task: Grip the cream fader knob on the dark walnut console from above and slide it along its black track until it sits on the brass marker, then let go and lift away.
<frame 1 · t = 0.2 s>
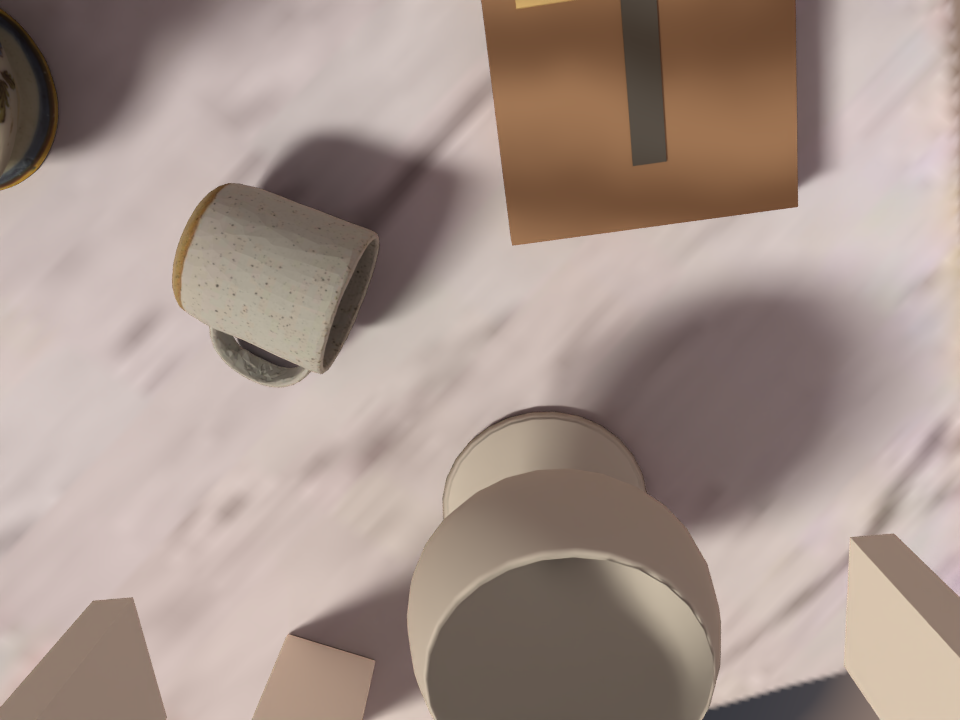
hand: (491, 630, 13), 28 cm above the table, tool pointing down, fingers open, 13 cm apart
chalice: (543, 502, 43), on the table
milk: (320, 680, 47), on the table
ceramic mug: (296, 287, 40), on the table
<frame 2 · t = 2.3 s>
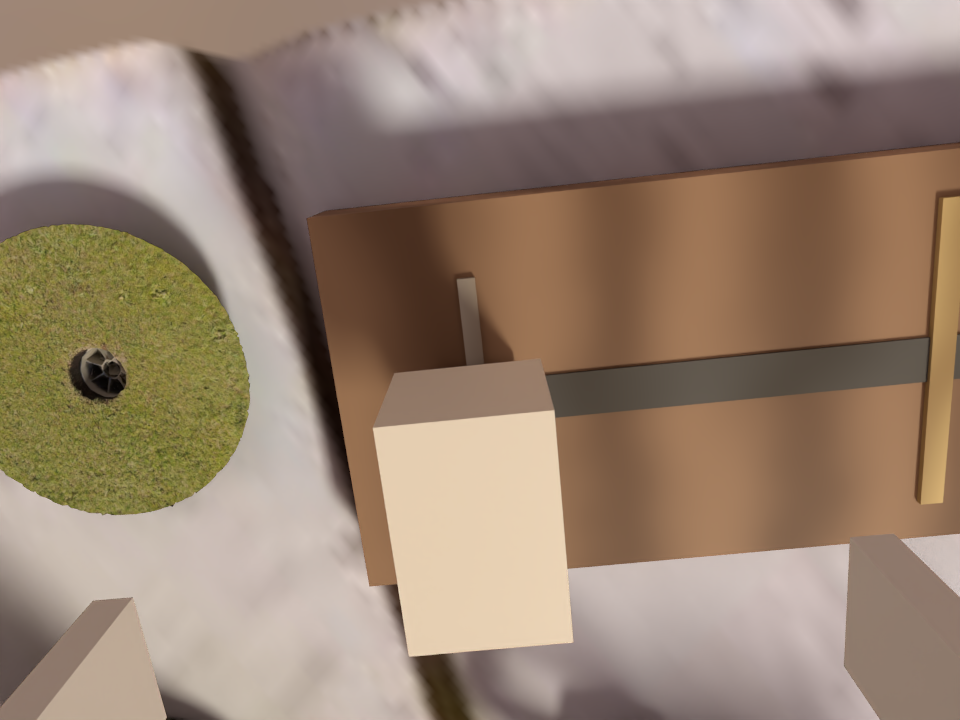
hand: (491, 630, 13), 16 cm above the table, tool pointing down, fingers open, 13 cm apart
mat: (123, 362, 29), on the table
fader knob: (479, 459, 21), point 8 cm above the table, slide at 0.0 cm
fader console: (761, 349, 28), on the table
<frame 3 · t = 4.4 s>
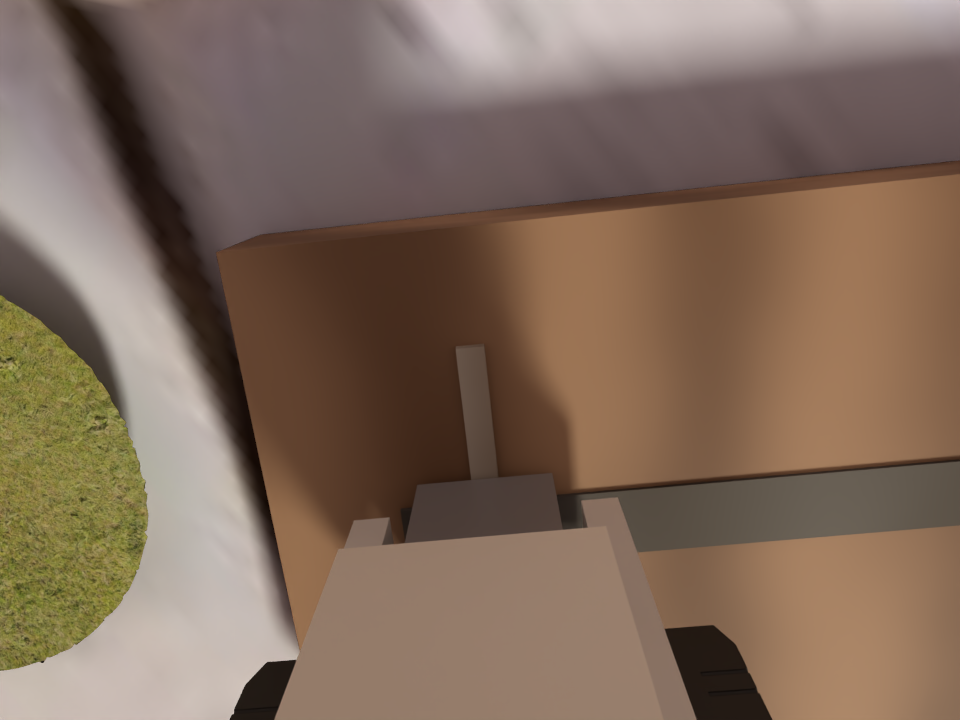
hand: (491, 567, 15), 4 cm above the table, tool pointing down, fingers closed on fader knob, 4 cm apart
fader knob: (491, 680, 12), point 8 cm above the table, slide at 0.0 cm, touching gripper
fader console: (905, 437, 19), on the table
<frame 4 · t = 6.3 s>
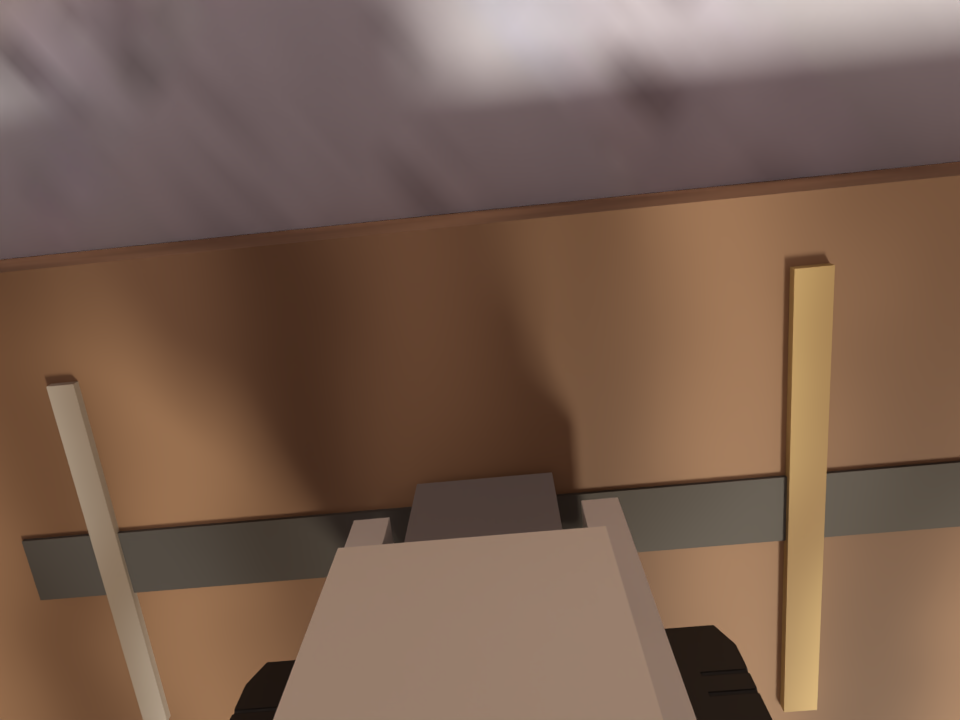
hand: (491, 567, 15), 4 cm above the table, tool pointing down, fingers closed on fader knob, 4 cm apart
fader knob: (490, 679, 12), point 8 cm above the table, slide at 8.9 cm, touching gripper
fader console: (568, 467, 19), on the table
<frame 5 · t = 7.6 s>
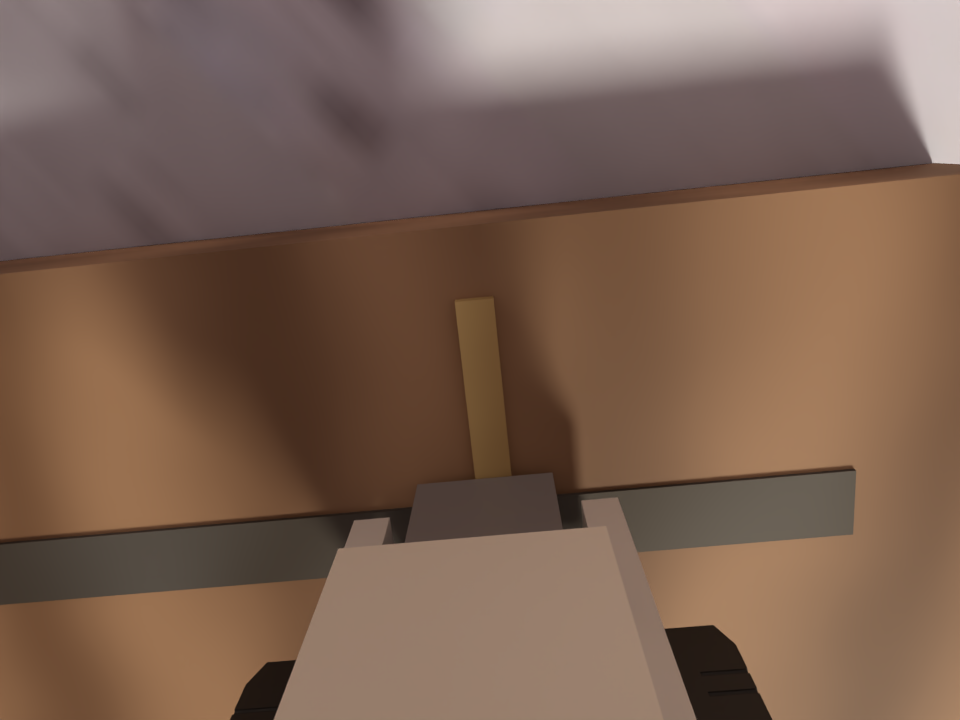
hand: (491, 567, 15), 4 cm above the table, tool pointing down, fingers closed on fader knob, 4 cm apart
fader knob: (491, 680, 12), point 8 cm above the table, slide at 15.8 cm, touching gripper
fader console: (316, 489, 20), on the table
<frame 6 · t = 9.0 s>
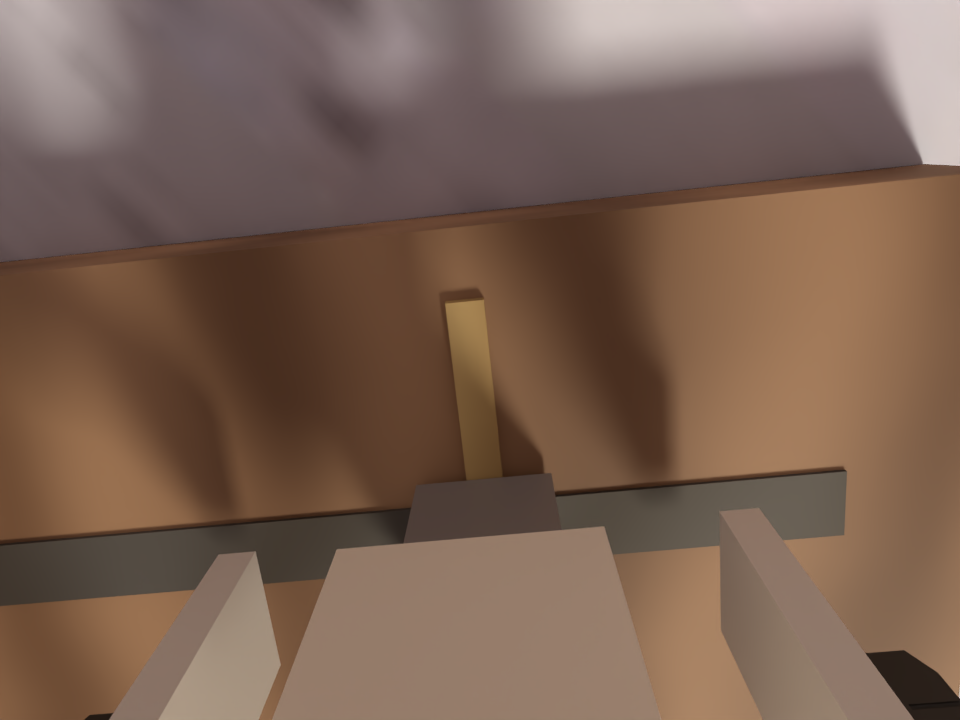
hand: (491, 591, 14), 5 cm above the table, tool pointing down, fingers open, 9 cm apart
fader knob: (489, 680, 12), point 8 cm above the table, slide at 16.0 cm
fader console: (309, 490, 20), on the table
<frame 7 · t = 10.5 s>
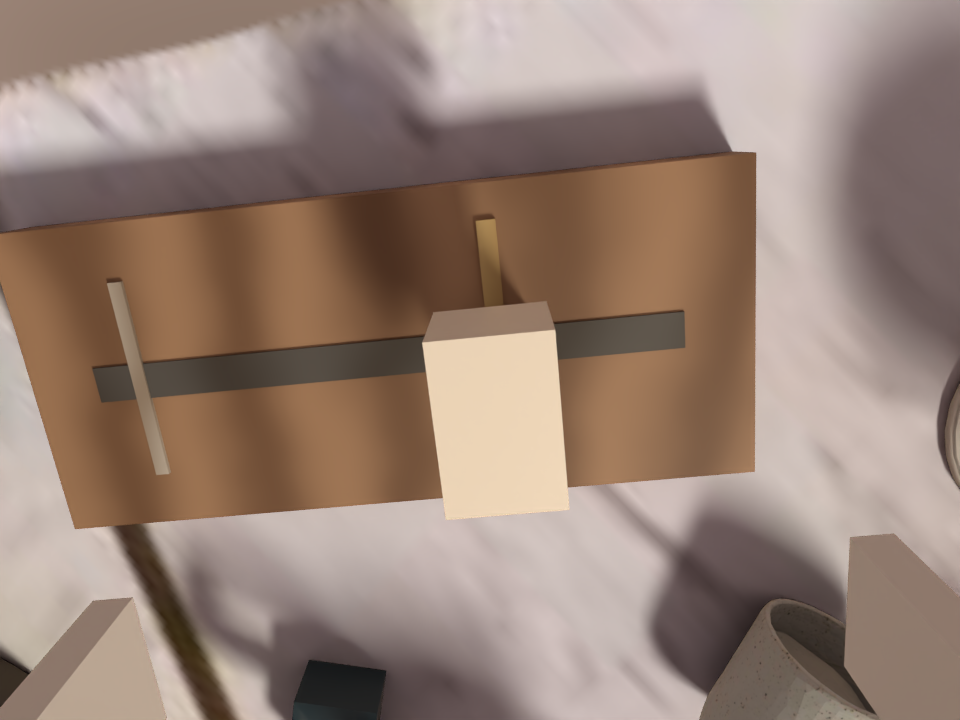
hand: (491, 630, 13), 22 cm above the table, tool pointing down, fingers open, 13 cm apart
fader knob: (498, 382, 27), point 8 cm above the table, slide at 16.0 cm
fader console: (394, 339, 34), on the table
ceramic mug: (792, 661, 40), on the table
watch: (342, 703, 41), on the table
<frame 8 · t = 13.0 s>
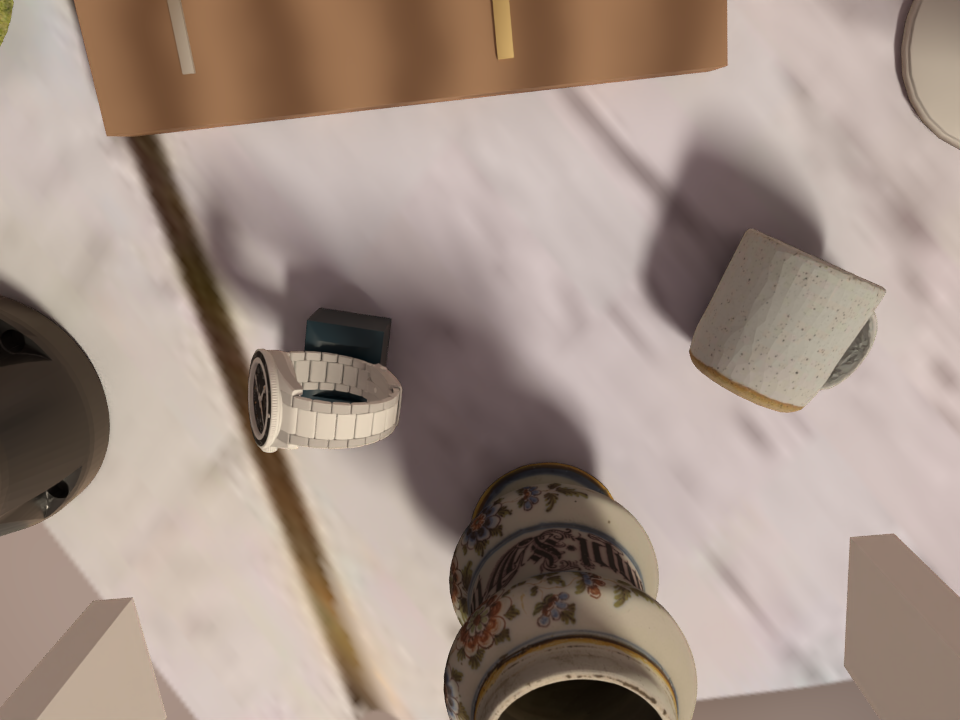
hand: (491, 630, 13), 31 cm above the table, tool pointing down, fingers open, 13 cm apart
ceramic mug: (775, 310, 43), on the table
apothecary jar: (546, 528, 47), on the table
watch: (350, 356, 44), on the table
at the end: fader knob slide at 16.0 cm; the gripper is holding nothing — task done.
